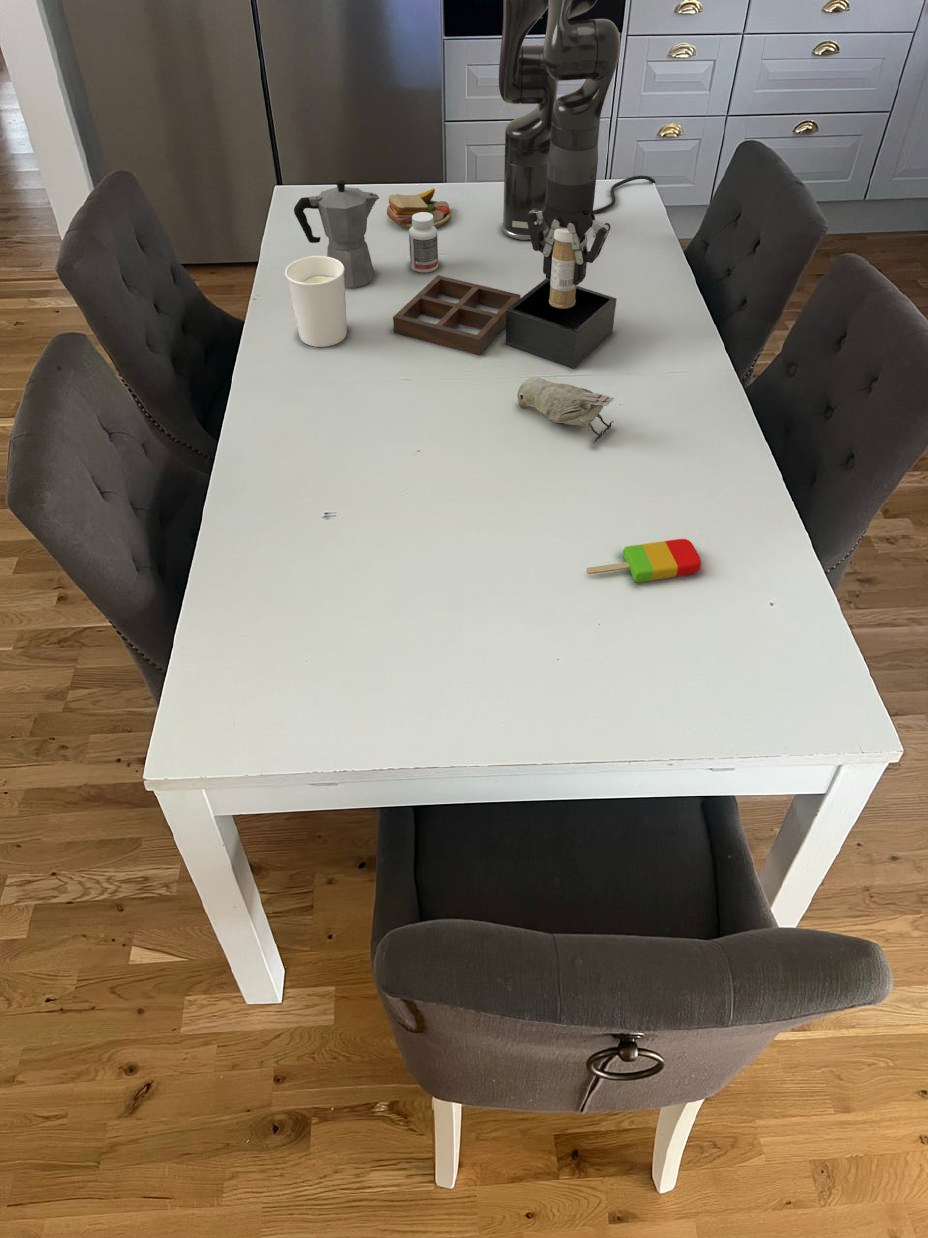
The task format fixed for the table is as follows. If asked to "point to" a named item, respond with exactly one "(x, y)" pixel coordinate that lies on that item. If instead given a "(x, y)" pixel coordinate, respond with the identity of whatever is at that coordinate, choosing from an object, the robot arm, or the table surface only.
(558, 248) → the sprinkles bottle
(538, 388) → the decorative bird
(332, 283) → the candle holder
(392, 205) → the toy sandwich meal
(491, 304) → the wooden cubby shelf
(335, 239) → the coffeepot
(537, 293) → the open box
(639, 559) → the popsicle
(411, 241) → the pill bottle
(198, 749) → the table surface
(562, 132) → the robot arm
